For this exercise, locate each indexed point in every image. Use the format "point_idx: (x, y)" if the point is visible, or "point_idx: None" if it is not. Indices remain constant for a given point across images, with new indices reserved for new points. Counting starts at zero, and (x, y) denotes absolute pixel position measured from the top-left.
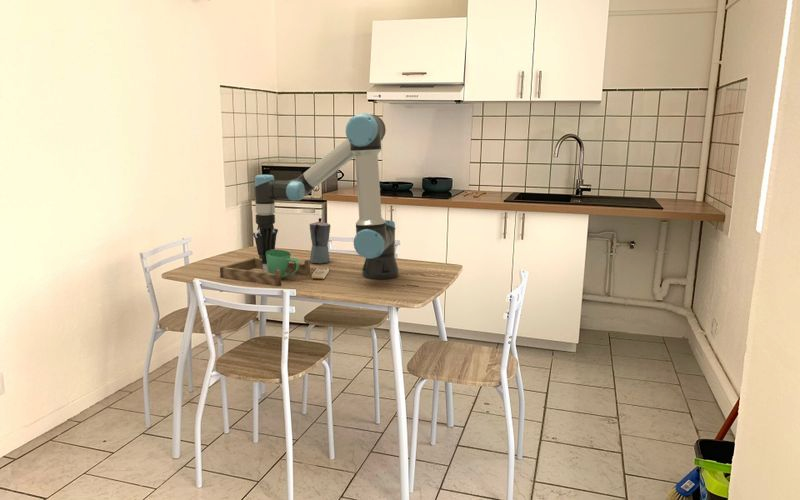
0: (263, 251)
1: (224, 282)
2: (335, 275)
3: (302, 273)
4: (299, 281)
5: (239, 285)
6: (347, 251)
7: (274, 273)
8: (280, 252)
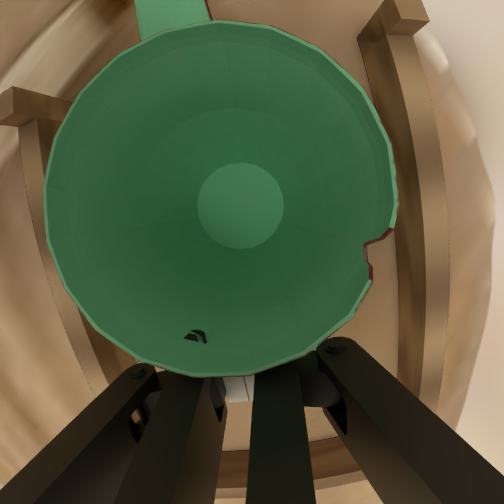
0: (348, 366)
1: (476, 343)
2: (18, 21)
3: None
4: (214, 16)
5: (490, 238)
6: None
7: (295, 165)
8: (91, 288)
